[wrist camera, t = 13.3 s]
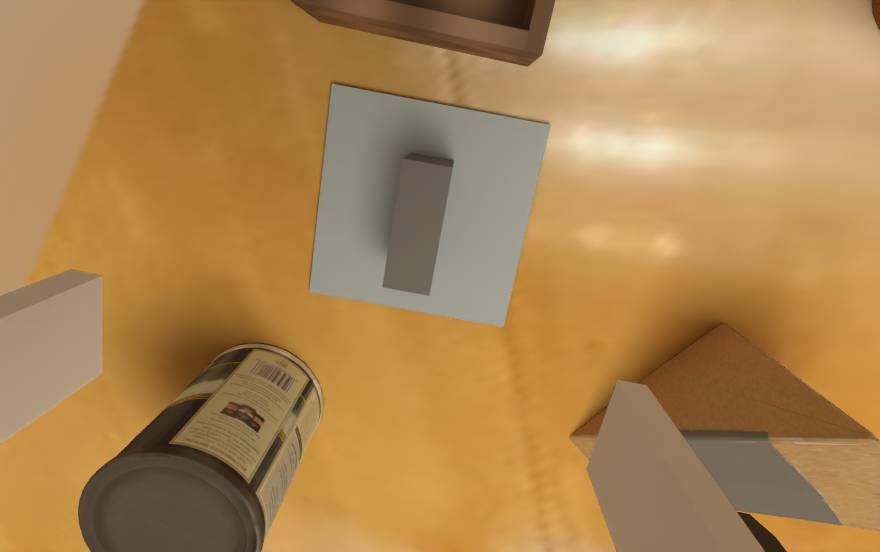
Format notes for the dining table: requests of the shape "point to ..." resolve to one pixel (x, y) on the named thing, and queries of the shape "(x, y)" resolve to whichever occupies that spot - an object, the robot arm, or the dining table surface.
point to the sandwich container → (764, 434)
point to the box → (448, 23)
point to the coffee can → (209, 460)
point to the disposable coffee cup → (877, 11)
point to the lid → (424, 204)
